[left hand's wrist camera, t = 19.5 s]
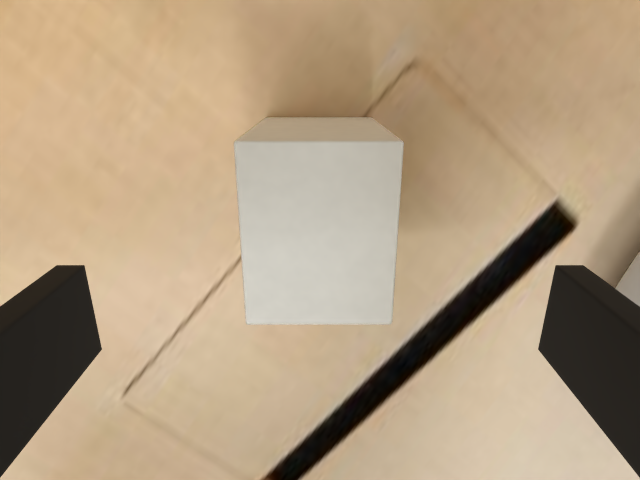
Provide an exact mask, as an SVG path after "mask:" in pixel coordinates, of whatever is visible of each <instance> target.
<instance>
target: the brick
mask: <svg viewBox="0 0 640 480" xmlns="http://www.w3.org/2000/svg"><path fill="white" fill-rule="evenodd" d="M403 148H404V142H403V141H402V140H401V139H400V138H398V137H397V136H396V135H394V134H393V133H392V132H390V131H389V130H388V129H386V128H385V127H384V126H383V125H381V124H380V123H379V122H377V121H376V120H375V119H373V118H372V117H266V118H264V119H263V120H262V121H261V122H259V123H258V124H257V125H255V126H254V127H253V128H251V129H250V130H249V131H247V132H246V133H245V134H243V135H242V136H241V137H239V138H238V139H237V140H235V141H234V153H235V168H236V183H237V198H238V213H239V227H240V242H241V257H242V272H243V287H244V302H245V317H246V324H248V325H250V324H392V317H393V301H394V286H395V271H396V255H397V240H398V225H399V210H400V194H401V179H402V164H403Z"/></svg>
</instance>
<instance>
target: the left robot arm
mask: <svg viewBox="0 0 640 480" xmlns="http://www.w3.org/2000/svg"><path fill="white" fill-rule="evenodd" d="M101 350H102V348H101V343H100V338H99V334H98V329H97V324H96V319H95V314H94V310H93V305H92V300H91V295H90V290H89V286H88V281H87V276H86V271H85V266H84V265H57V266H55V267H54V268H53V269H51V270H50V271H48V272H47V273H46V274H44V275H43V276H42V277H40V278H39V279H38V280H36V281H35V282H33V283H32V284H31V285H29V286H28V287H27V288H25V289H24V290H22V291H21V292H20V293H18V294H17V295H16V296H14V297H13V298H11V299H10V300H9V301H7V302H6V303H5V304H3V305H2V306H0V477H1V476H2V475H3V473H4V472H5V471H6V470H7V468H8V467H9V466H10V465H11V463H12V462H13V461H14V459H15V458H16V457H17V456H18V454H19V453H20V452H21V451H22V449H23V448H24V447H25V446H26V444H27V443H28V442H29V441H30V439H31V438H32V437H33V435H34V434H35V433H36V432H37V430H38V429H39V428H40V427H41V425H42V424H43V423H44V422H45V420H46V419H47V418H48V417H49V415H50V414H51V413H52V411H53V410H54V409H55V408H56V406H57V405H58V404H59V403H60V401H61V400H62V399H63V398H64V396H65V395H66V394H67V393H68V391H69V390H70V389H71V387H72V386H73V385H74V384H75V382H76V381H77V380H78V379H79V377H80V376H81V375H82V374H83V372H84V371H85V370H86V369H87V367H88V366H89V365H90V364H91V362H92V361H93V360H94V358H95V357H96V356H97V355H98V353H99V352H100V351H101ZM538 350H539V351H540V352H541V353H542V355H543V356H544V357H545V358H546V360H547V361H548V362H549V364H550V365H551V366H552V367H553V369H554V370H555V371H556V372H557V374H558V375H559V376H560V377H561V379H562V380H563V381H564V382H565V384H566V385H567V386H568V388H569V389H570V390H571V391H572V393H573V394H574V395H575V396H576V398H577V399H578V400H579V401H580V403H581V404H582V405H583V406H584V408H585V409H586V410H587V411H588V413H589V414H590V415H591V417H592V418H593V419H594V420H595V422H596V423H597V424H598V425H599V427H600V428H601V429H602V430H603V432H604V433H605V434H606V435H607V437H608V438H609V439H610V441H611V442H612V443H613V444H614V446H615V447H616V448H617V449H618V451H619V452H620V453H621V454H622V456H623V457H624V458H625V459H626V461H627V462H628V463H629V465H630V466H631V467H632V468H633V470H634V471H635V472H636V473H637V475H638V476H639V477H640V306H638V305H637V304H635V303H634V302H633V301H631V300H630V299H629V298H627V297H626V296H624V295H623V294H622V293H620V292H619V291H618V290H616V289H615V288H613V287H612V286H611V285H609V284H608V283H607V282H605V281H604V280H602V279H601V278H600V277H598V276H597V275H596V274H594V273H593V272H592V271H590V270H589V269H587V268H586V267H585V266H583V265H556V266H555V271H554V276H553V281H552V286H551V290H550V295H549V300H548V305H547V310H546V314H545V319H544V324H543V329H542V334H541V338H540V343H539V348H538Z"/></svg>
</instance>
